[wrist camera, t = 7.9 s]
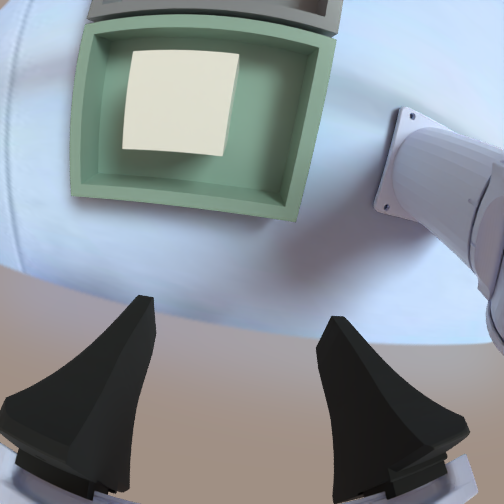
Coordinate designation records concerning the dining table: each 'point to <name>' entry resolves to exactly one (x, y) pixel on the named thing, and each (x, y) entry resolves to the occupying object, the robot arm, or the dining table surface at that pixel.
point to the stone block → (180, 101)
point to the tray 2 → (241, 125)
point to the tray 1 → (231, 11)
